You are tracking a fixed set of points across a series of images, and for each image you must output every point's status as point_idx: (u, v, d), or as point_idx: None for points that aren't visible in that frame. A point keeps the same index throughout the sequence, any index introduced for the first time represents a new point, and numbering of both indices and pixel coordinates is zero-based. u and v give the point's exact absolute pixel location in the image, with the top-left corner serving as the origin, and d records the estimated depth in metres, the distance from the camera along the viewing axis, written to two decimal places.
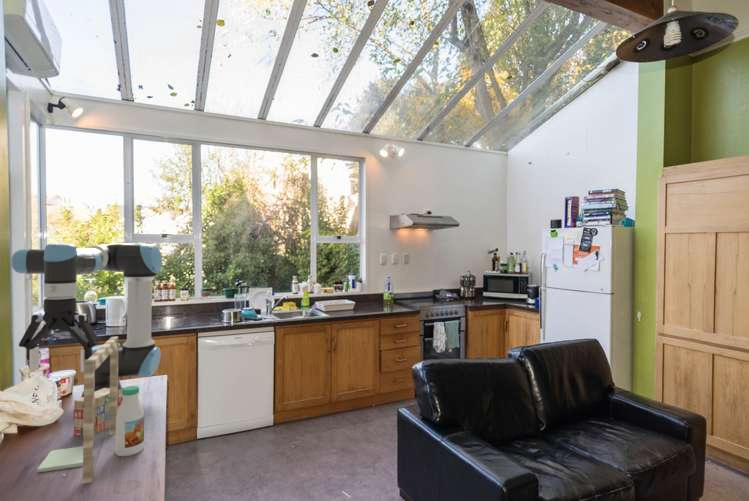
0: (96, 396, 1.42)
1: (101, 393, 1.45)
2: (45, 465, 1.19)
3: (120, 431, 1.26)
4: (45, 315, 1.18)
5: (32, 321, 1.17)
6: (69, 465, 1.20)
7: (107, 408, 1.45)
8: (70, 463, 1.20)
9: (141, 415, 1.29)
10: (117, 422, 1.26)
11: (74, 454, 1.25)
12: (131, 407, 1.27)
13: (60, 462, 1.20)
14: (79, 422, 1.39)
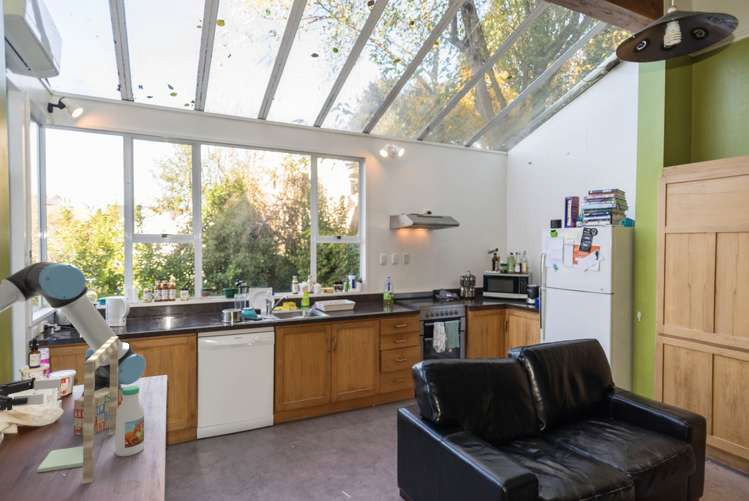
0: (96, 395, 1.43)
1: (101, 393, 1.45)
2: (45, 465, 1.19)
3: (120, 431, 1.26)
4: None
5: None
6: (69, 465, 1.20)
7: (107, 407, 1.45)
8: (70, 463, 1.20)
9: (141, 415, 1.29)
10: (117, 422, 1.26)
11: (74, 454, 1.25)
12: (131, 407, 1.27)
13: (60, 462, 1.20)
14: (79, 422, 1.39)
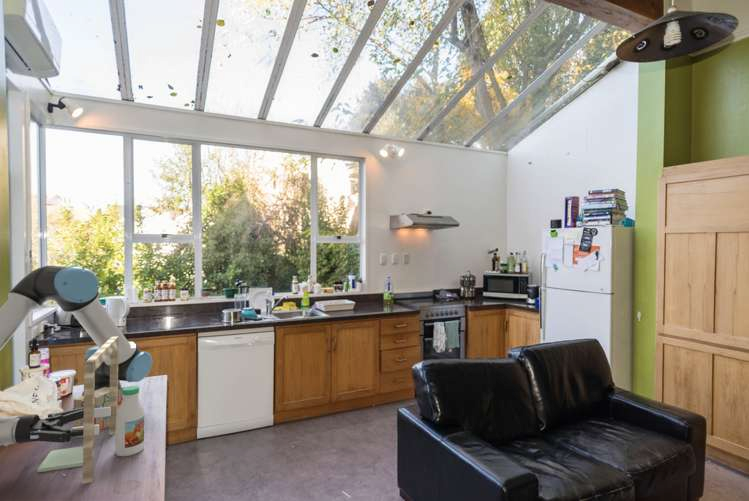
0: (95, 395, 1.43)
1: (100, 392, 1.46)
2: (45, 465, 1.19)
3: (120, 431, 1.26)
4: None
5: None
6: (69, 465, 1.20)
7: None
8: (70, 463, 1.20)
9: (141, 415, 1.29)
10: (117, 422, 1.26)
11: (74, 454, 1.25)
12: (131, 407, 1.27)
13: (60, 462, 1.20)
14: (78, 421, 1.39)
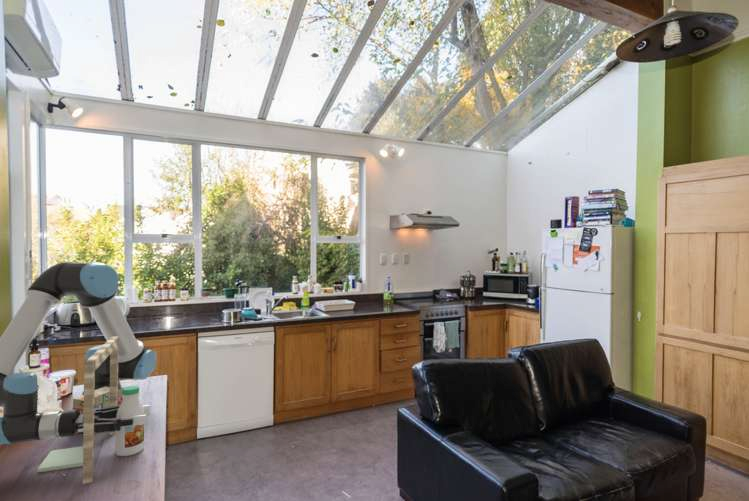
0: None
1: (100, 392, 1.46)
2: (45, 465, 1.19)
3: (120, 431, 1.26)
4: None
5: None
6: (69, 465, 1.20)
7: None
8: (70, 463, 1.20)
9: None
10: None
11: (74, 454, 1.25)
12: (131, 407, 1.27)
13: (60, 462, 1.20)
14: None
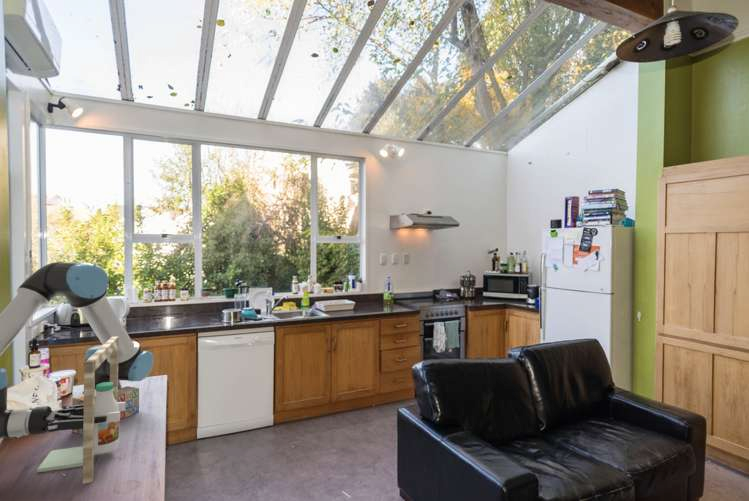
0: None
1: None
2: (45, 465, 1.19)
3: None
4: None
5: None
6: (69, 465, 1.20)
7: None
8: (70, 463, 1.20)
9: None
10: None
11: (74, 454, 1.25)
12: (105, 404, 1.24)
13: (60, 462, 1.20)
14: None
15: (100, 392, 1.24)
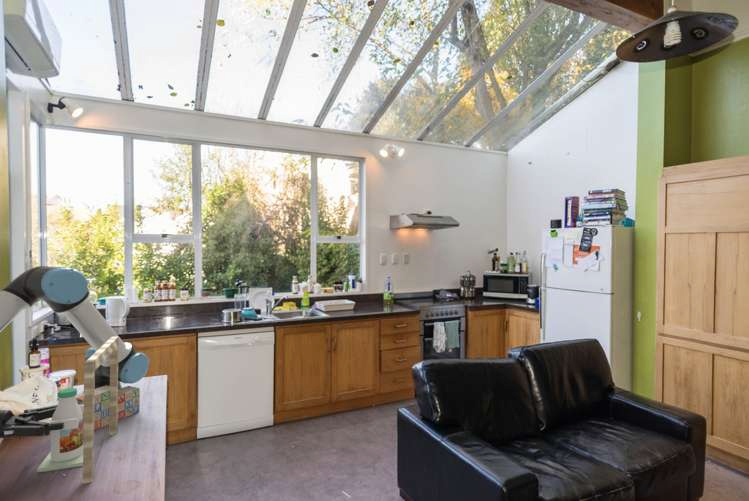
0: None
1: (99, 391, 1.47)
2: (45, 465, 1.19)
3: (55, 435, 1.20)
4: None
5: None
6: (69, 465, 1.20)
7: (104, 406, 1.47)
8: (70, 463, 1.20)
9: (78, 419, 1.23)
10: None
11: None
12: (67, 410, 1.21)
13: (60, 462, 1.20)
14: None
15: (62, 399, 1.21)
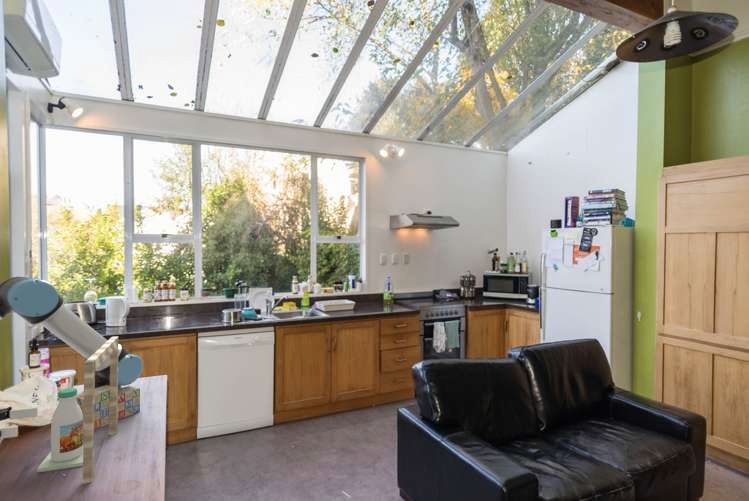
0: None
1: (99, 390, 1.48)
2: (45, 465, 1.19)
3: (55, 435, 1.20)
4: None
5: None
6: (69, 465, 1.20)
7: (104, 405, 1.47)
8: (70, 463, 1.20)
9: (78, 419, 1.23)
10: (52, 426, 1.21)
11: None
12: (67, 410, 1.21)
13: (60, 462, 1.20)
14: None
15: (62, 398, 1.21)
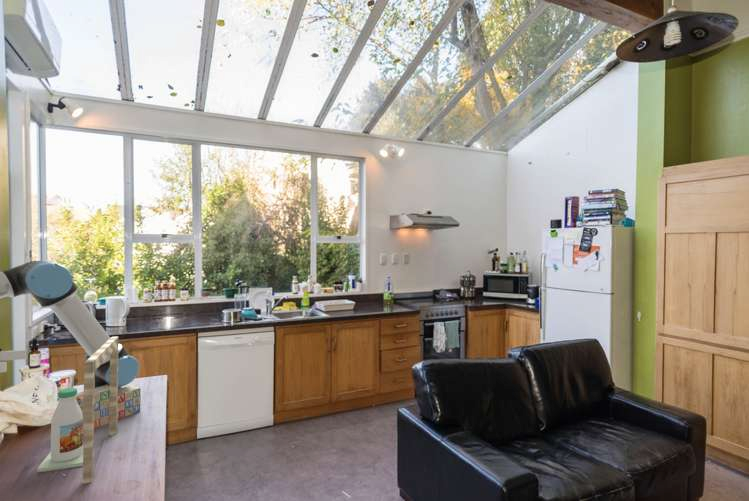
0: None
1: (99, 390, 1.48)
2: (45, 465, 1.19)
3: (55, 435, 1.20)
4: None
5: None
6: (69, 465, 1.20)
7: (103, 405, 1.47)
8: (70, 463, 1.20)
9: (78, 418, 1.23)
10: (52, 426, 1.21)
11: None
12: (67, 410, 1.21)
13: (60, 462, 1.20)
14: None
15: (62, 398, 1.21)
